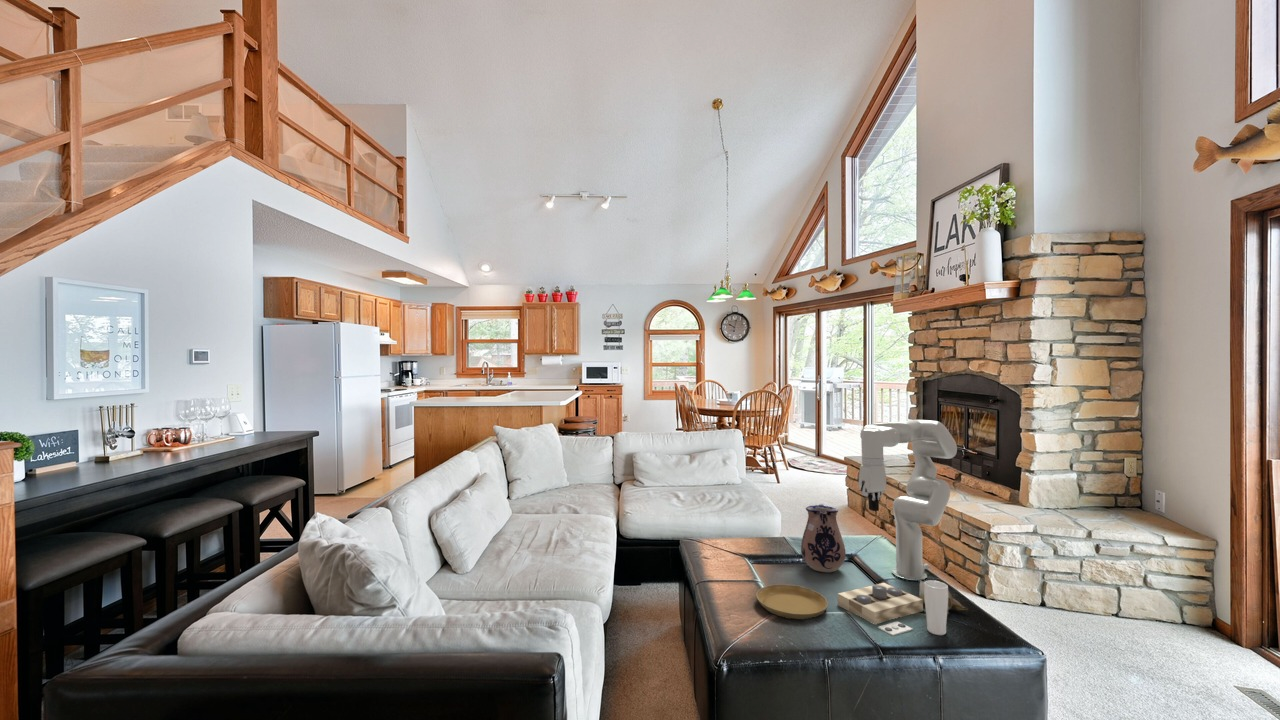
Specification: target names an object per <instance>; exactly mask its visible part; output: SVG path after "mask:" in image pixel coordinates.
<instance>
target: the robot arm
mask: <svg viewBox="0 0 1280 720" xmlns="http://www.w3.org/2000/svg"><path fill="white" fill-rule="evenodd" d="M860 439H861V440H860V441H861V445H860V446H861V465H860V467H859V473H858V474H859V475H858V491H860V492H861V496H864V497H866V499H867V500H868V510H869V511H873V512H879V511H880V510H879V509H880V508H879V507H880V505H879V503H880V502H879V501H880V499H881V495H883V494H885V493H886V492H885V491H886V489H887V475H886V467H885V464H884V460H885V459H884V448H886V447H887V448H892V447H895V446H897V445H898V444H908V443H911V449H912V454H913V458H914V467H913V470H912V473H911V474H910V476H909V479H908V481H907V483H906V486H905V491H906V494H907V495H908V496H907V495H901V496H898V497H896V498H895V499H894V500H893V503H892V510H893V511H892V512H893V516H894V520H895V521H894V522H895V563H896V564H895V567H894V568H893V569H896V570H893V569H892V570H891V572H892V571H893V573H895V574H897V575H899V576H901V577H904V578H908V579H915V578H916V579H925V578H927V579H928V575H927V573H925V570H928V569H930V568H931V567H930V564H929V563H924V564H923V532H922V529H921V527H920V525H925V526H928V527H929V526H930V527H935V526H937V525H938V524H939V523H940V521H941V519H942V517H943V515H944V512H945V510H946V507H947V505H948V502H949V500H950V496H951V488H950V485H949V483H948V482H947V481H946V480H944V479H942V478H936V477H937V474H938V469H937V466H936V465H935V463H934V462H933V460H932V458H938V459H945V460H946V459H947V460H949V459H953V458H954V457H956V455H957V451H958V446H957V445H958V444H957V443H956V441H955V439H954V437H953V435H952V434H951V433H950V431H949V430H948V429H947V427H946V426H945V425H944V423H942V422H940V421H938V420H929V419H911V420H906V421H897V422H882V423H881V422H880V423H872V424H871V423H870V424H866V425H865V426H863V427H862V428H861V430H860ZM919 524H920V525H919Z"/></svg>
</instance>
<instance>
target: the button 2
mask: <svg viewBox="0 0 1280 720" xmlns="http://www.w3.org/2000/svg"><path fill="white" fill-rule="evenodd" d="M894 587H895V586H893V587H890V588H888V594H890V595H892V596H895V597H898V596H902V591H903V590H902V589H901V588H899V587H895V588H894Z"/></svg>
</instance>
